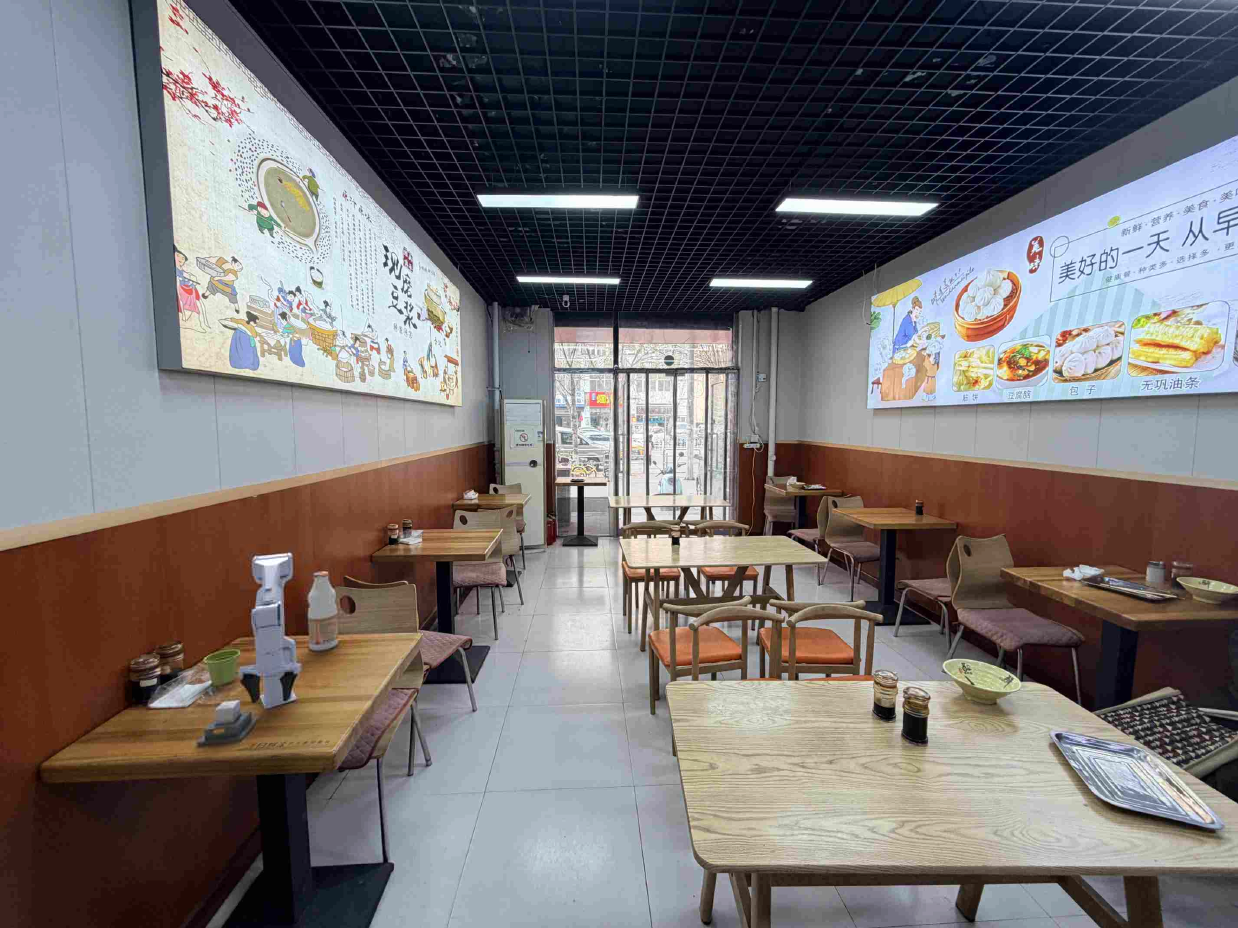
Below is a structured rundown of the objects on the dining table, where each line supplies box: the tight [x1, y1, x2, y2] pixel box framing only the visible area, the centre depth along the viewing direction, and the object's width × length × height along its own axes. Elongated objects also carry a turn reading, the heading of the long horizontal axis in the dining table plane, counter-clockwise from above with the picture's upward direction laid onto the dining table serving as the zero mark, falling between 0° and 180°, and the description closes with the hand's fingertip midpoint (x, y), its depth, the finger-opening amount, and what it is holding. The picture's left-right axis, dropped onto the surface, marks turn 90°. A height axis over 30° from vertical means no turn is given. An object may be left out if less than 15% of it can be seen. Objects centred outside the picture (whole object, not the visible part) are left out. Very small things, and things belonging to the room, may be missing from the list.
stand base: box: [196, 710, 260, 747], centre depth 138 cm, size 10×10×4 cm
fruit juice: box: [307, 571, 339, 651], centre depth 193 cm, size 9×9×28 cm
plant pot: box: [203, 649, 241, 687], centre depth 166 cm, size 9×9×9 cm
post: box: [214, 699, 242, 726], centre depth 138 cm, size 4×4×6 cm
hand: (271, 700), depth 135 cm, fingers open, 7 cm apart
